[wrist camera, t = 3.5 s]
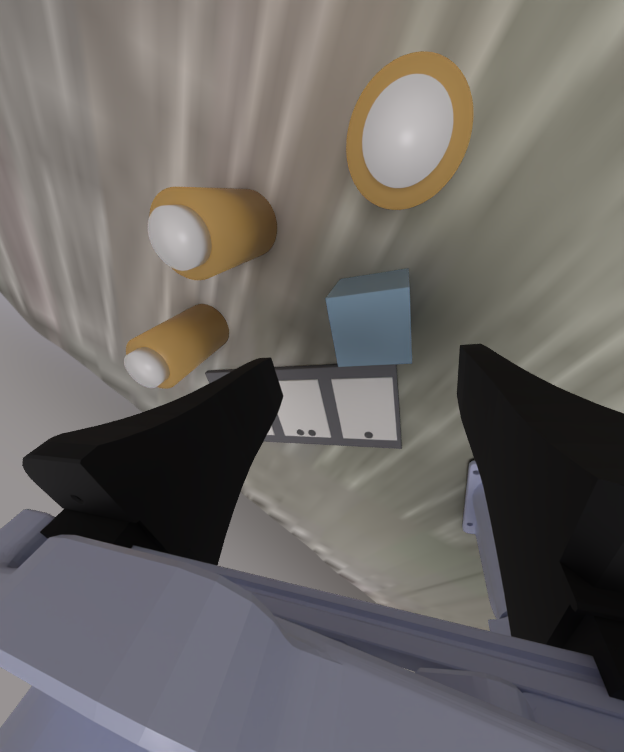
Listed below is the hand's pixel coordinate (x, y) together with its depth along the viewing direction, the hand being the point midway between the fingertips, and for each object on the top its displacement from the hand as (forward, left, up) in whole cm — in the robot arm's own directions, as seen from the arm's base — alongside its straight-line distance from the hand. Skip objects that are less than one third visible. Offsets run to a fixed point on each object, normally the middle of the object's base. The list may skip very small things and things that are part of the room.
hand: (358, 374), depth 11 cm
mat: (-8, +7, -8) cm, 13 cm away
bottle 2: (0, +13, -8) cm, 15 cm away
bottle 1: (+6, +7, -8) cm, 12 cm away
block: (0, 0, -8) cm, 8 cm away
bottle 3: (+7, -2, -8) cm, 11 cm away
